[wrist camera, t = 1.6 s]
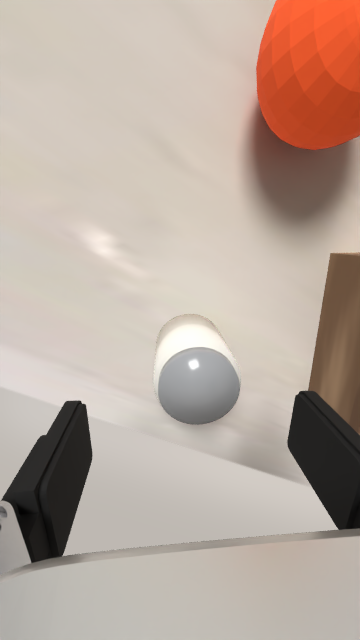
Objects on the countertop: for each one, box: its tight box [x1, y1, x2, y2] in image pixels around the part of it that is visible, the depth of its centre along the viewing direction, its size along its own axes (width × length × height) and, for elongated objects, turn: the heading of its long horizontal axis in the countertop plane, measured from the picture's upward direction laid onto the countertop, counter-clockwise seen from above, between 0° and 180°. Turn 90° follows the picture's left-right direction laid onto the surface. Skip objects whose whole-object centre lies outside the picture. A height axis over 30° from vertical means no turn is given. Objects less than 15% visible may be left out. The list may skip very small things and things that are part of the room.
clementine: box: [256, 0, 360, 150], centre depth 11 cm, size 8×7×7 cm
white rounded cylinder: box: [153, 314, 241, 424], centre depth 16 cm, size 5×5×6 cm
